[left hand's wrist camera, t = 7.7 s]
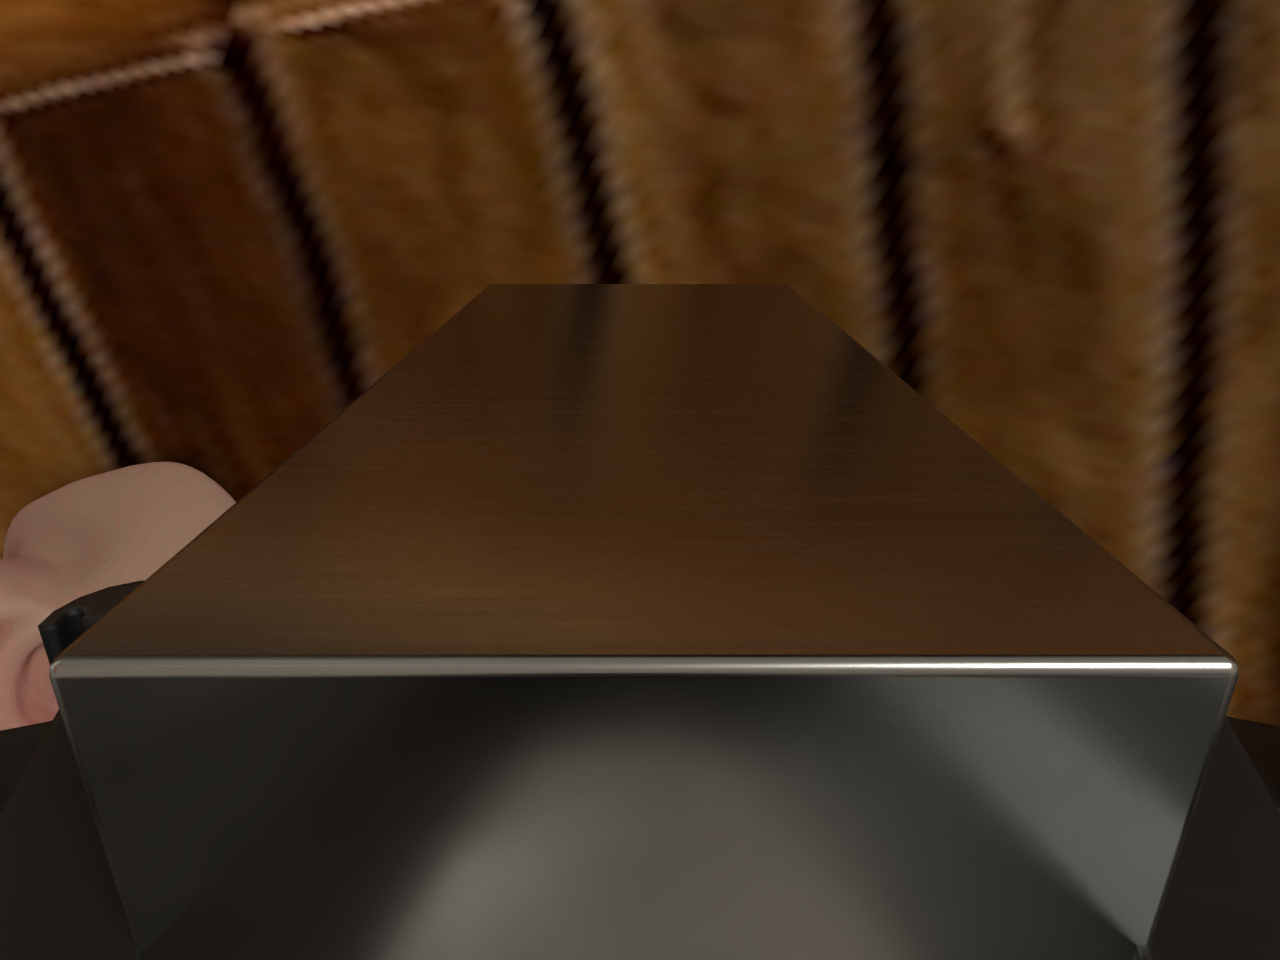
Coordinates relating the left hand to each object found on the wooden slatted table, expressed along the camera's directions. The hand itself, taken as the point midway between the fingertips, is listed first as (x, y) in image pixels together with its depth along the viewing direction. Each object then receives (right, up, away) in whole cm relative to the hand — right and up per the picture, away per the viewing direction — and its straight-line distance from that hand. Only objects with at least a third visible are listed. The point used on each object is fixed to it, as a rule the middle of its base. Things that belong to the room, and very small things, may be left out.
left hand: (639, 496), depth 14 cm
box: (0, -8, +7) cm, 11 cm away
